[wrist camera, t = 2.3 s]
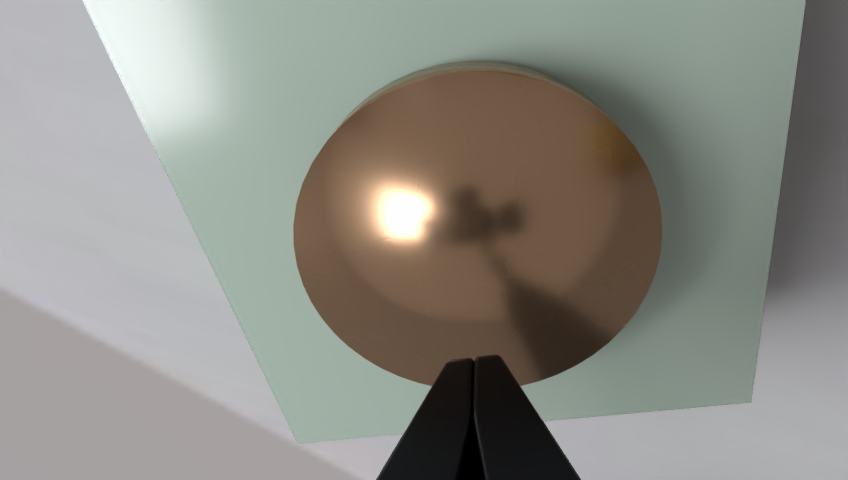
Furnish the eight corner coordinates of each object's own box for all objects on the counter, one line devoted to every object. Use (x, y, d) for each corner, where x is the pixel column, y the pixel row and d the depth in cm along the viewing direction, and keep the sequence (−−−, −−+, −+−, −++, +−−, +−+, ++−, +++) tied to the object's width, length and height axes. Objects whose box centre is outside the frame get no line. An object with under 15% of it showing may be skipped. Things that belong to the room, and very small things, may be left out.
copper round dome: (607, 261, 17) (660, 373, 12) (377, 293, 18) (350, 404, 14) (596, 4, 13) (665, 29, 9) (308, 67, 14) (237, 117, 10)
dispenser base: (684, 299, 19) (751, 402, 15) (331, 343, 21) (297, 443, 17) (704, -160, 12) (836, -222, 8) (189, -27, 15) (73, -19, 10)
